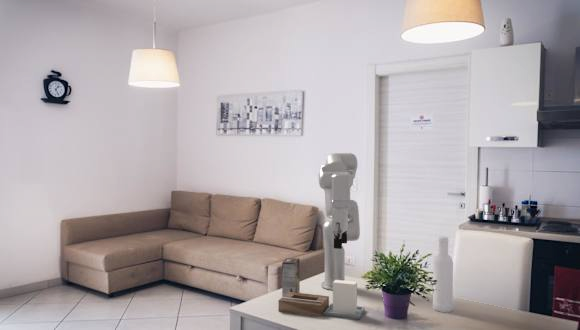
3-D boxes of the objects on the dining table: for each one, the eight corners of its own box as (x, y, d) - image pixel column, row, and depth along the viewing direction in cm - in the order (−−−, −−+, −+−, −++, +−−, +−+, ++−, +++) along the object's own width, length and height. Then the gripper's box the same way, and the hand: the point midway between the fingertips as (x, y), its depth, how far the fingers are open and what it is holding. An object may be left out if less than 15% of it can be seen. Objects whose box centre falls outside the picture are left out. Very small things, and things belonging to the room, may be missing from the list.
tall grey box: (286, 292, 221) (286, 257, 220) (299, 292, 220) (299, 258, 219) (281, 298, 212) (281, 262, 211) (296, 299, 211) (296, 263, 210)
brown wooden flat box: (288, 302, 207) (288, 290, 206) (328, 306, 200) (328, 295, 200) (278, 311, 195) (278, 299, 195) (321, 316, 189) (321, 303, 189)
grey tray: (331, 306, 201) (331, 303, 201) (364, 310, 196) (364, 307, 196) (324, 315, 190) (324, 311, 190) (359, 319, 186) (359, 315, 186)
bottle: (455, 312, 194) (456, 239, 192) (436, 312, 194) (437, 239, 192) (448, 305, 202) (449, 235, 200) (430, 306, 202) (431, 235, 200)
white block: (335, 308, 196) (335, 279, 196) (356, 311, 194) (357, 281, 193) (332, 311, 193) (332, 282, 192) (354, 314, 190) (355, 284, 189)
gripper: (336, 200, 204) (336, 240, 205) (326, 206, 187) (326, 249, 188) (354, 201, 201) (353, 241, 202) (345, 207, 185) (345, 251, 186)
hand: (340, 245), depth 195 cm, fingers open, 9 cm apart
